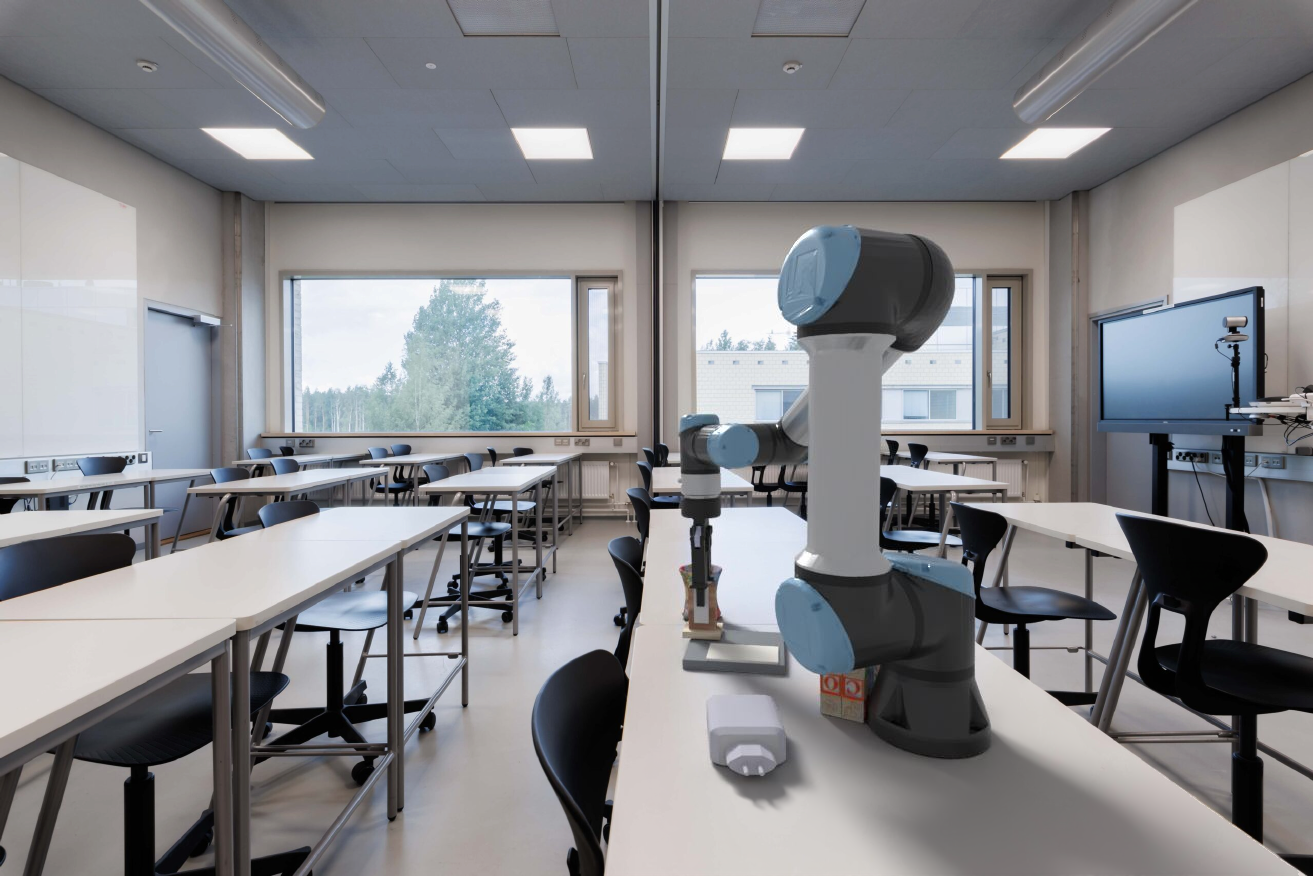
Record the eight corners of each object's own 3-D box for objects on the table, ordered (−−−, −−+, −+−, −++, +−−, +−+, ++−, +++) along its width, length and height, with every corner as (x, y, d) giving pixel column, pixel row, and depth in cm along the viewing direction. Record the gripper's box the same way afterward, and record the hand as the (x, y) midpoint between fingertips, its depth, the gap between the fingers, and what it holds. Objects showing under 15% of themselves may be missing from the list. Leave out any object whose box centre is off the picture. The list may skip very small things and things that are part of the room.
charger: (713, 796, 68) (706, 729, 83) (796, 796, 68) (774, 729, 82) (712, 754, 68) (706, 694, 83) (795, 754, 67) (774, 694, 82)
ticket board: (784, 674, 100) (784, 663, 100) (682, 668, 103) (682, 657, 103) (783, 640, 115) (783, 630, 115) (695, 636, 119) (694, 626, 119)
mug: (726, 624, 126) (725, 573, 126) (681, 625, 125) (680, 574, 125) (718, 606, 138) (717, 560, 138) (677, 608, 137) (676, 561, 137)
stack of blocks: (865, 725, 83) (864, 636, 83) (819, 715, 86) (818, 628, 86) (893, 670, 101) (892, 596, 101) (854, 663, 104) (853, 592, 104)
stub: (720, 640, 111) (719, 590, 111) (682, 638, 113) (681, 588, 112) (723, 629, 117) (722, 581, 117) (687, 627, 119) (686, 580, 118)
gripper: (687, 491, 123) (689, 605, 124) (673, 501, 107) (676, 632, 108) (724, 491, 122) (726, 607, 122) (716, 501, 106) (718, 635, 106)
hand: (702, 619), depth 115 cm, fingers open, 3 cm apart
